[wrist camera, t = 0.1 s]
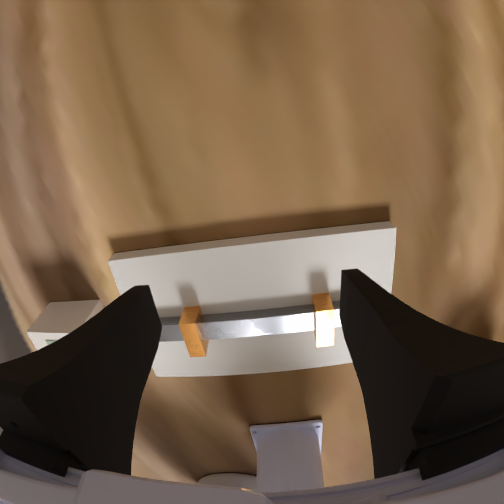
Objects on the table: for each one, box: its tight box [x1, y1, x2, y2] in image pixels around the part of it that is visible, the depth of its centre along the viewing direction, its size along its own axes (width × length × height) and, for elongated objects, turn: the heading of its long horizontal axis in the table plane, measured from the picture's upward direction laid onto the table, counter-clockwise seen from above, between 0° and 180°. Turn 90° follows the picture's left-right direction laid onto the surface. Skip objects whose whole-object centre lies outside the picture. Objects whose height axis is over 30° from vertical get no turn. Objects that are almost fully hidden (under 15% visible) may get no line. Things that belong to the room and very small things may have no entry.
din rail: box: [159, 293, 341, 357], centre depth 22 cm, size 3×18×2 cm, turn 98°
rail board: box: [108, 221, 396, 377], centre depth 24 cm, size 12×20×1 cm, turn 98°
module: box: [27, 300, 103, 350], centre depth 23 cm, size 4×6×5 cm, turn 98°
